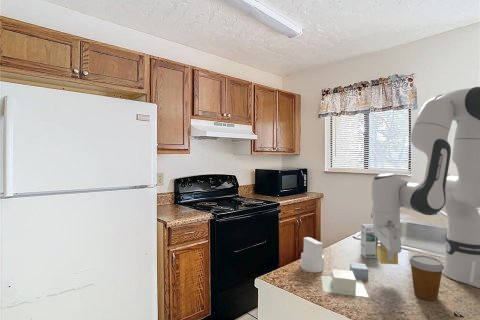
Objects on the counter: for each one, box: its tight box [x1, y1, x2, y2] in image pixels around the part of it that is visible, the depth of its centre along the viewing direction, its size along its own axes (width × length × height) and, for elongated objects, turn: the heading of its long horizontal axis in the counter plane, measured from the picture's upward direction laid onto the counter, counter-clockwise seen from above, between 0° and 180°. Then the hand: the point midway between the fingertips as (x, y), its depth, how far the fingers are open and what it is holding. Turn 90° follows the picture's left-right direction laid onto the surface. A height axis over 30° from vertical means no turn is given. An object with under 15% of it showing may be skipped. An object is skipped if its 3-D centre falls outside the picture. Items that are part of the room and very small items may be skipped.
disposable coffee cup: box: [408, 254, 444, 302], centre depth 88 cm, size 10×10×12 cm
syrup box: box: [360, 223, 379, 259], centre depth 124 cm, size 6×6×14 cm
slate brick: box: [349, 261, 369, 279], centre depth 101 cm, size 6×6×4 cm
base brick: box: [331, 268, 357, 292], centre depth 92 cm, size 7×7×4 cm
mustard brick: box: [376, 245, 399, 265], centre depth 97 cm, size 6×6×4 cm
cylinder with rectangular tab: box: [300, 236, 325, 273], centre depth 107 cm, size 9×9×12 cm
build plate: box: [320, 275, 370, 298], centre depth 92 cm, size 14×12×1 cm
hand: (387, 256), depth 97 cm, fingers closed on mustard brick, 5 cm apart
